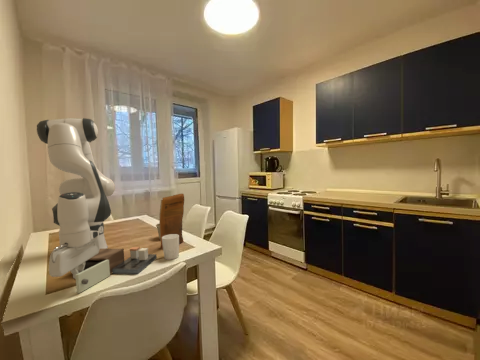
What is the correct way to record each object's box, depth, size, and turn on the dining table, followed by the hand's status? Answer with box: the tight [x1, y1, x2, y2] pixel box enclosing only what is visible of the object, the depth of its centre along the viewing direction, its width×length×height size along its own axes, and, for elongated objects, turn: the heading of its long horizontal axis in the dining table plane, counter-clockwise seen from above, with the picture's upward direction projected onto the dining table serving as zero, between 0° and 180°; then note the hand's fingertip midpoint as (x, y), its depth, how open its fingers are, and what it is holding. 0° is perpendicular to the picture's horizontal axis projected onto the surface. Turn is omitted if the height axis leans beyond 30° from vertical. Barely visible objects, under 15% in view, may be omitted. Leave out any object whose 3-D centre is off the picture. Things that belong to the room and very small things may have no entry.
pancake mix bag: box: [158, 192, 185, 250], centre depth 125 cm, size 7×19×28 cm, turn 149°
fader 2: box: [138, 247, 149, 260], centre depth 101 cm, size 3×3×4 cm
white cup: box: [162, 234, 180, 260], centre depth 108 cm, size 8×8×10 cm
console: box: [111, 253, 158, 275], centre depth 100 cm, size 11×16×2 cm
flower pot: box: [155, 223, 160, 240], centre depth 139 cm, size 9×9×9 cm
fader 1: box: [129, 246, 141, 259], centre depth 103 cm, size 3×3×4 cm
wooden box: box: [77, 248, 125, 275], centre depth 97 cm, size 15×11×7 cm
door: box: [75, 260, 111, 294], centre depth 84 cm, size 13×2×6 cm, turn 165°
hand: (78, 276), depth 81 cm, fingers closed
